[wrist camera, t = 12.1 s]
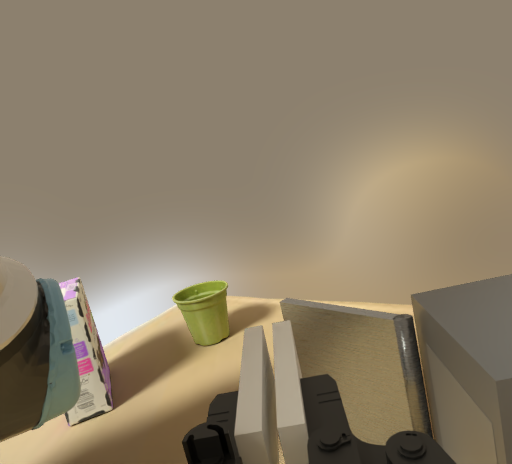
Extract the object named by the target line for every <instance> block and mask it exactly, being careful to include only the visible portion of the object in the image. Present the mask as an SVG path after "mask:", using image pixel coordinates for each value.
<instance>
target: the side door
mask: <svg viewBox="0 0 512 464" xmlns="http://www.w3.org/2000/svg"><path fill="white" fill-rule="evenodd" d="M280 305H281V310H282V314H283V318H284V321H287V320H290V322H291V326H292V331H293V336H294V341H295V346H296V350H297V355H298V360H299V365H300V369H301V374H302V378H306V377H312V376H317V375H323V374H329V375H330V376H331V377H332V378H333V379H334V380H335V381H336V383H337V386H338V390H339V393H340V396H341V400H342V403H343V406H344V410H345V413H346V416H347V420H348V423H349V427H350V429H351V431H352V433H353V434H354V435H355V436H356V437H357V438H358V439H360V440H361V441H364V442H366V443H369V444H375V445H386V441H387V440H388V439H389V438H390V436H392V435H394V434H396V433H398V432H402V431H407V430H409V431H419V432H421V433H424V434H427V435H429V436H430V437H431V438H433V436H432V430H431V424H430V418H429V412H428V406H427V400H426V394H425V388H424V382H423V376H422V370H421V364H420V358H419V352H418V346H417V340H416V334H415V328H414V322H413V317H412V316H411V315H408V314H401V315H399V314H392V313H386V312H379V311H372V310H365V309H358V308H352V307H345V306H338V305H331V304H324V303H318V302H311V301H304V300H297V299H290V298H286V299H284V300H282V301H281V302H280Z"/></svg>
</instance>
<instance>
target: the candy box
mask: <svg viewBox="0 0 512 464" xmlns="http://www.w3.org/2000/svg"><path fill="white" fill-rule="evenodd" d="M59 286H60V288H61V291H62V295H63V298H64V302H65V306H66V310H67V314H68V318H69V323H70V327H71V334H72V339H73V345H74V348H75V353H76V357H77V363H78V369H79V375H80V383H81V393H80V397H79V400H78V402H77V403H76V405H75V406H74V407H73V408H72V409H71V410H69V411H68V412H66V413H65V416H66V419H67V422H68V425H69V426H71V425H73V424H76V423H79V422H82V421H84V420H87V419H89V418H92V417H95V416H97V415H100V414H103V413H105V412H108V411H111V410H112V409H113V402H112V392H111V380H110V369H109V366H108V363H107V360H106V357H105V354H104V350H103V347H102V344H101V341H100V338H99V335H98V332H97V329H96V325H95V322H94V319H93V316H92V313H91V310H90V307H89V304H88V301H87V298H86V295H85V292H84V288H83V285H82V282H81V279H80V277H78V278H74V279H71V280H68V281H64V282H61V283H59Z"/></svg>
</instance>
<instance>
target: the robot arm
mask: <svg viewBox="0 0 512 464" xmlns="http://www.w3.org/2000/svg"><path fill="white" fill-rule="evenodd" d="M272 327H273V348H274V369H275V379H274V375H273V370H272V366H271V362H270V357H269V353H268V348H267V344H266V339H265V335H264V331H263V326H262V325H261V326H256V327H250V328H245V330H244V340H243V351H242V361H241V371H240V381H239V391H235V392H229V393H224V394H218V395H217V396H216V397H215V399H214V400H213V401H212V403H211V404H210V407H209V412H208V417H207V422H206V423H203V424H200V425H198V426H196V427H195V428H193V429H191V430H190V431H189V432H188V433H187V434H186V435H185V437H184V439H183V441H182V444H183V447H184V451H185V454H186V458H187V461H188V464H279V452H278V433H279V438H280V442H281V446H282V451H283V455H284V459H285V464H456V462H455V461H454V460H453V459H452V458H451V457H450V456H449V455H448V454H447V453H446V452H445V451H444V450H443V448H442V447H441V446H440V445H439V444H438V443H437V442H436V441H435V440H434V439H433V438H431V437H430V436H429V435H427V434H424V433H421V432H419V431H409V430H407V431H402V432H398V433H396V434H394V435H392V436H390V438H389V439H388V440H387V441H386V445H375V444H369V443H366V442H364V441H361V440H360V439H358V438H357V437H356V436H355V435H354V434H353V433H352V431H351V429H350V427H349V423H348V420H347V416H346V413H345V410H344V406H343V403H342V400H341V396H340V393H339V390H338V386H337V383H336V381H335V380H334V379H333V378H332V377H331V376H330V375H329V374H323V375H317V376H312V377H306V378H302V374H301V369H300V365H299V360H298V355H297V350H296V346H295V341H294V336H293V331H292V326H291V322H290V320H287V321H282V322H277V323H272ZM80 393H81V383H80V375H79V369H78V363H77V357H76V353H75V348H74V345H73V339H72V334H71V327H70V323H69V318H68V314H67V310H66V306H65V302H64V298H63V295H62V291H61V288H60V286H59V283H58V282H57V281H56V280H54V279H41V278H40V279H38V280H35V278H34V276H33V275H32V273H31V272H30V271H29V269H28V268H27V267H26V266H24V265H23V264H22V263H20V262H18V261H16V260H14V259H11V258H8V257H4V256H0V442H2V441H5V440H7V439H10V438H12V437H14V436H17V435H19V434H22V433H24V432H27V431H29V430H34V429H37V428H39V427H41V426H42V425H43V424H44V423H45V422H47V421H49V420H51V419H53V418H55V417H57V416H60V415H62V414H64V413H66V412H68V411H69V410H71V409H72V408H73V407H74V406H75V405H76V403H77V402H78V400H79V397H80ZM277 429H278V431H277Z"/></svg>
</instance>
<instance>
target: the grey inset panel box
mask: <svg viewBox="0 0 512 464" xmlns="http://www.w3.org/2000/svg"><path fill="white" fill-rule="evenodd" d="M411 300H412V306H413V312H414V318H415V324H416V330H417V336H418V342H419V348H420V354H421V360H422V366H423V372H424V378H425V384H426V390H427V396H428V402H429V408H430V414H431V420H432V426H433V432H434V438H435V441H436V442H437V443H438V444H439V445H440V446H441V447H442V448H443V450H444V451H445V452H446V453H447V454H448V455H449V456H450V457H451V458H452V459H453V460H454V461H455V462H456V464H512V274H510V275H505V276H501V277H496V278H491V279H486V280H481V281H476V282H472V283H467V284H461V285H457V286H452V287H447V288H442V289H437V290H432V291H427V292H422V293H418V294H412V295H411Z"/></svg>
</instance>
